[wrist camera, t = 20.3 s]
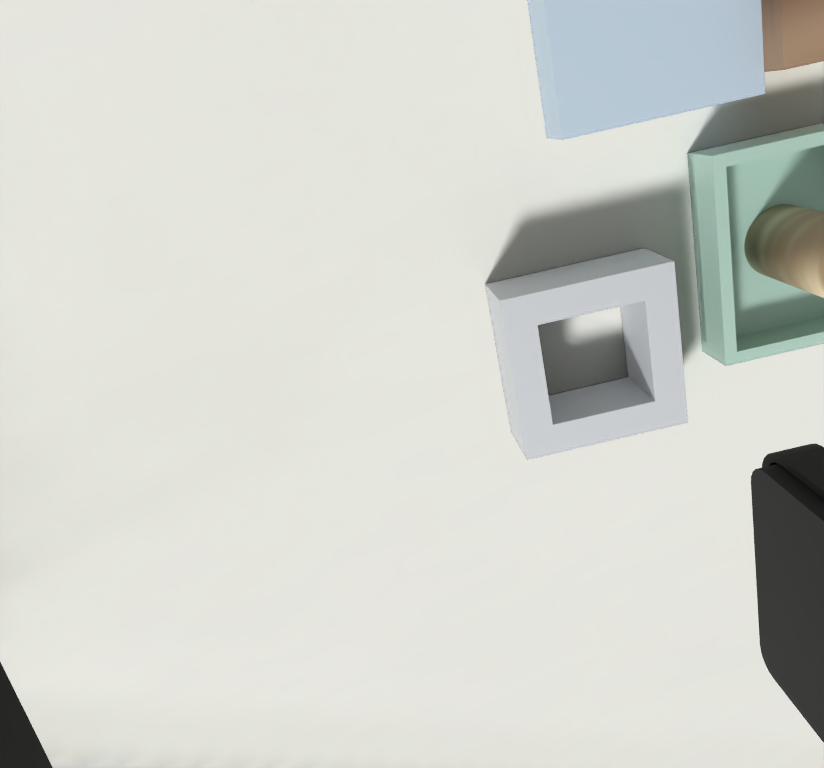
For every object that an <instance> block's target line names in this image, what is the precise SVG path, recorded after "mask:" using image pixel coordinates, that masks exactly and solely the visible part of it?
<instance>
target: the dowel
mask: <svg viewBox="0 0 824 768" xmlns="http://www.w3.org/2000/svg"><path fill="white" fill-rule="evenodd" d="M744 251H745V256H746V259H747V261H748V263H749V265H750V266H751V267H752V268H753V269H754V270H755V271H756V272H758V273H760V274H762V275H765V276H767V277H770V278H773V279H775V280H778V281H780V282H783V283H786V284H788V285H791V286H794V287H796V288H799V289H801V290H804V291H807V292H809V293H812V294H815V295H817V296H820V297H822V298H824V211H819V210H814V209H809V208H805V207H800V206H795V205H789V204H781V205H776V206H773V207H771V208H768V209H767V210H765V211H763V212H762V213H761V214H760V215H759V216H758V217H756V219H755V220H754V221H753V222H752V224H751V225H750V227H749V229H748V231H747V234H746V237H745V243H744Z"/></svg>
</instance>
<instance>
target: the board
mask: <svg viewBox="0 0 824 768" xmlns="http://www.w3.org/2000/svg"><path fill="white" fill-rule="evenodd" d="M527 2H528V9H529V16H530V23H531V30H532V38H533V45H534V52H535V59H536V66H537V73H538V80H539V87H540V94H541V102H542V109H543V116H544V123H545V130H546V137H547V138H550V139H559V140H564V139H569V138H573V137H577V136H582V135H586V134H591V133H595V132H599V131H604V130H608V129H613V128H617V127H621V126H626V125H630V124H635V123H639V122H643V121H648V120H652V119H657V118H661V117H666V116H670V115H674V114H679V113H683V112H688V111H692V110H696V109H701V108H705V107H710V106H714V105H718V104H723V103H727V102H732V101H736V100H740V99H745V98H749V97H754V96H758V95H762V94H765V78H764V55H763V32H762V8H761V0H527Z"/></svg>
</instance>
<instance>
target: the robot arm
mask: <svg viewBox="0 0 824 768" xmlns="http://www.w3.org/2000/svg"><path fill="white" fill-rule="evenodd" d="M751 489H752V507H753V525H754V544H755V562H756V580H757V598H758V616H759V634H760V647H761V652H762V656H763V659H764V661H765V664H766V666H767V668H768V670H769V672H770V674H771V675H772V677H773V678H774V679H775V681H776V682H777V683H778V685H779V686H780V687H781V688H782V690H783V691H784V692H785V694H786V695H787V696H788V697H789V699H790V700H791V701H792V702H793V704H794V705H795V706H796V708H797V709H798V710H799V711H800V713H801V714H802V715H803V717H804V718H805V719H806V720H807V722H808V723H809V724H810V726H811V727H812V728H813V729H814V731H815V732H816V733H817V735H818V736H819V737H820V738H821V740H822V741H823V742H824V447H822V446H820V445H818V444H809V445H804V446H800V447H796V448H792V449H787V450H783V451H779V452H775V453H770V454H768V455H767V456H766V457H765V458H764V461H763V463H762V468H759V469H755V470H754V471H753V473H752V476H751ZM0 768H52V766H51V764H50V762H49V760H48V758H47V756H46V753H45V751H44V749H43V747H42V745H41V743H40V741H39V739H38V737H37V735H36V733H35V731H34V729H33V727H32V725H31V723H30V721H29V719H28V717H27V715H26V713H25V711H24V709H23V707H22V705H21V703H20V701H19V699H18V697H17V695H16V693H15V691H14V689H13V687H12V685H11V683H10V681H9V679H8V677H7V675H6V673H5V671H4V669H3V667H2V665H1V663H0Z"/></svg>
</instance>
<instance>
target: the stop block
mask: <svg viewBox="0 0 824 768" xmlns="http://www.w3.org/2000/svg"><path fill="white" fill-rule="evenodd" d="M761 8H762V32H763V55H764V72H767V71H777V70H785V69H790V68H794V67H799V66H803V65H808V64H812V63H817V62H821V61H824V0H761Z"/></svg>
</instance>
